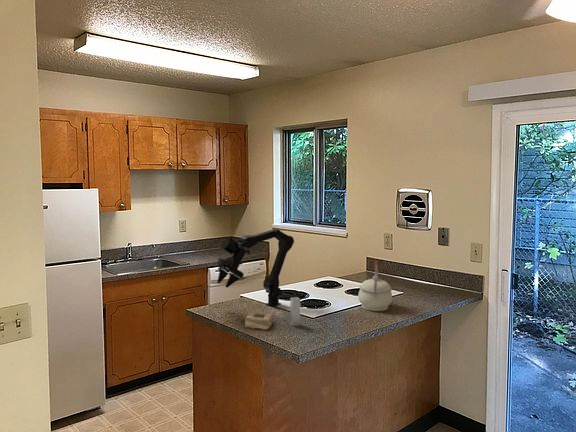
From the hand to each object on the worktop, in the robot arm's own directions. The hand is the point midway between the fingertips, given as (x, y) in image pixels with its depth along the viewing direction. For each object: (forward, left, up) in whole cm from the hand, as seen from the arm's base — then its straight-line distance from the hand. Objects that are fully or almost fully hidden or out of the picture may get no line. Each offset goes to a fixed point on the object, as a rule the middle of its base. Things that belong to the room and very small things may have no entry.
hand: (222, 285), depth 238 cm
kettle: (-54, +64, -15) cm, 85 cm away
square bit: (-4, +39, -15) cm, 42 cm away
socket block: (+5, +25, -15) cm, 29 cm away
